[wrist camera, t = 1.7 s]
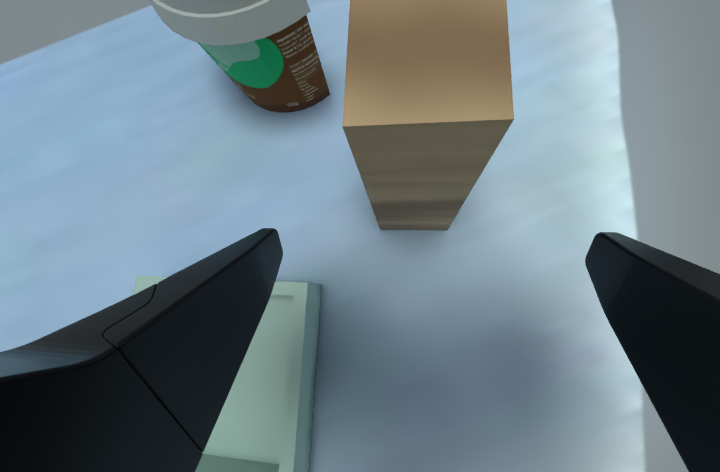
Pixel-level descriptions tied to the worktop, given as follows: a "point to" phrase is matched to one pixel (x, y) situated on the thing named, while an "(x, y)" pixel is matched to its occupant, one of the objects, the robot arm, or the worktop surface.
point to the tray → (269, 388)
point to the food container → (255, 46)
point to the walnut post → (425, 103)
